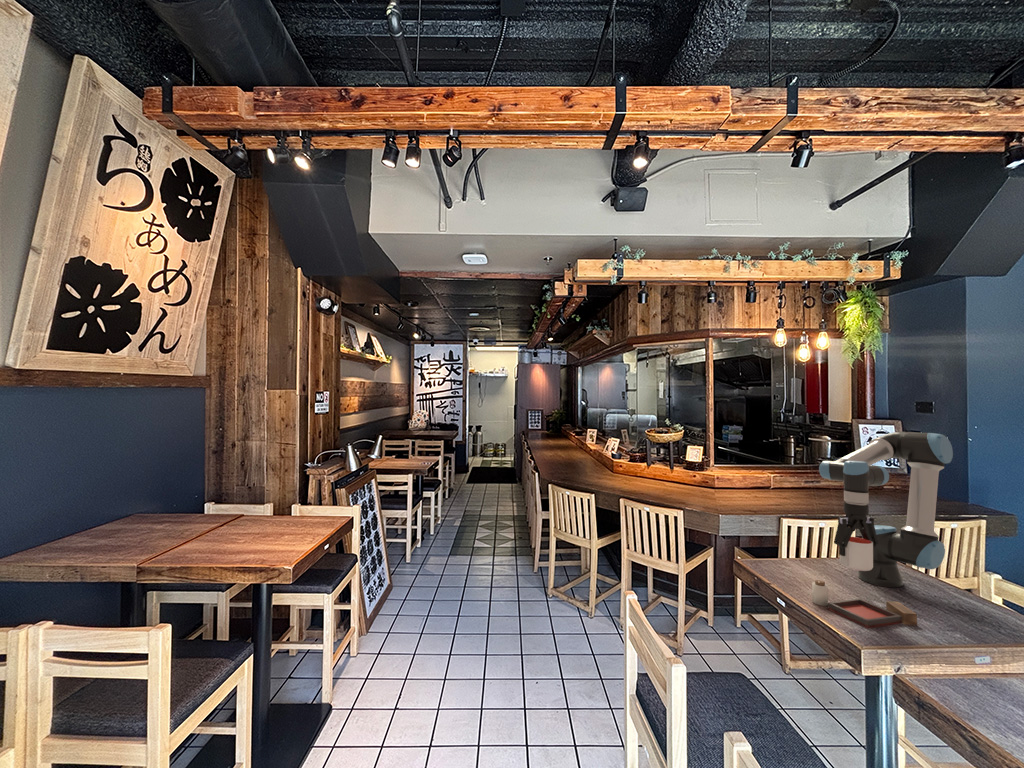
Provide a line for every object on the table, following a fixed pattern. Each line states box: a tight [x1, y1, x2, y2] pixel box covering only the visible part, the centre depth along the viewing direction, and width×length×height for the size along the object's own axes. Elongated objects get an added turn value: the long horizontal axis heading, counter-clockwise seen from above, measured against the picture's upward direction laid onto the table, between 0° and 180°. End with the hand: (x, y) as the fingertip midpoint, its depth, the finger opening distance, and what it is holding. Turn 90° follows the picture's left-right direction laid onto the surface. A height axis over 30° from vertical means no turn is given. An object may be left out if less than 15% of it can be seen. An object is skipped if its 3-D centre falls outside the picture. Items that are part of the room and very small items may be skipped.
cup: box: [841, 536, 873, 571], centre depth 174 cm, size 10×10×10 cm
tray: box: [827, 598, 903, 629], centre depth 169 cm, size 15×15×2 cm
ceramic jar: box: [811, 579, 829, 607], centre depth 179 cm, size 5×5×8 cm
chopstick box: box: [885, 600, 918, 626], centre depth 167 cm, size 4×10×4 cm, turn 170°
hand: (856, 563), depth 174 cm, fingers closed on cup, 10 cm apart
